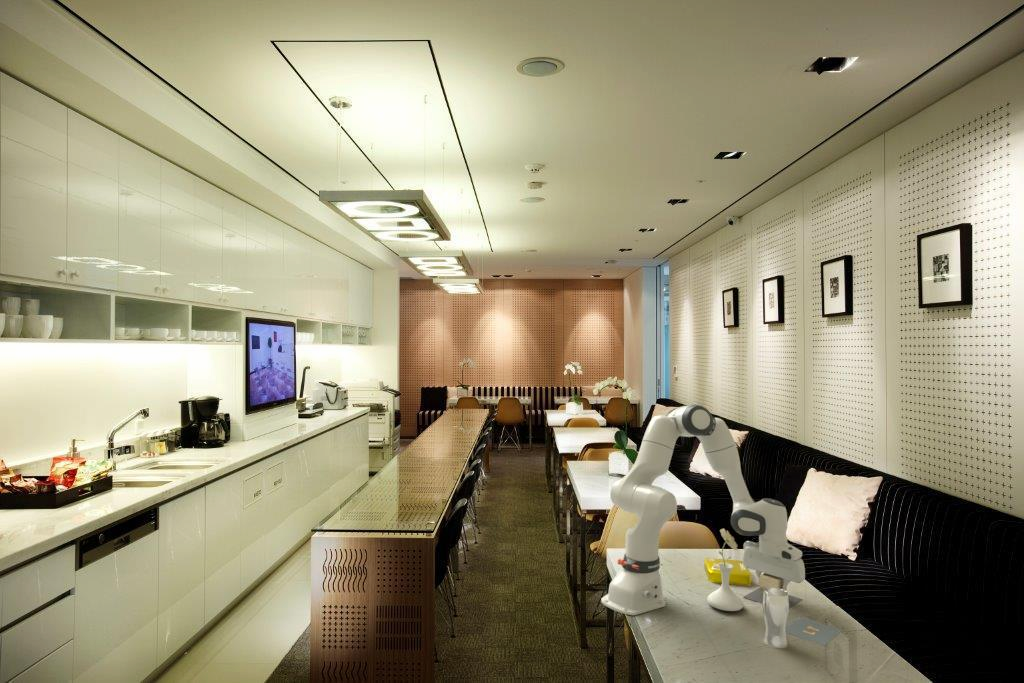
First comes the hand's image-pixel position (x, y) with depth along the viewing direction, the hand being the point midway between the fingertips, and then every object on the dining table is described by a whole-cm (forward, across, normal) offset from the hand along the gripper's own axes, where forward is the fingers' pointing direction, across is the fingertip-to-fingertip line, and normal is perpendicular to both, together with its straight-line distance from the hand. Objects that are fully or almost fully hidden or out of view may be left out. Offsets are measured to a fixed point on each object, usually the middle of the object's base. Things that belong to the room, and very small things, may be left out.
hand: (772, 587), depth 198 cm
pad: (+4, 0, 0) cm, 4 cm away
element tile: (+5, -20, +7) cm, 22 cm away
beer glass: (+4, +14, -30) cm, 33 cm away
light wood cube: (+2, 0, 0) cm, 2 cm away
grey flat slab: (+4, +18, -14) cm, 23 cm away
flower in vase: (+4, -8, -18) cm, 20 cm away
